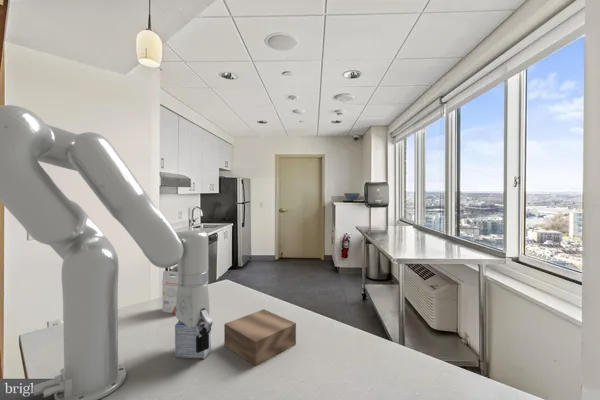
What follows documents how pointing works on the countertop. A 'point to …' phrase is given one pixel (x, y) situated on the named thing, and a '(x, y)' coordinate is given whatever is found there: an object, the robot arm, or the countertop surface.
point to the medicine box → (188, 342)
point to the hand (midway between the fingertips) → (193, 343)
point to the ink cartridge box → (169, 291)
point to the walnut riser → (259, 336)
